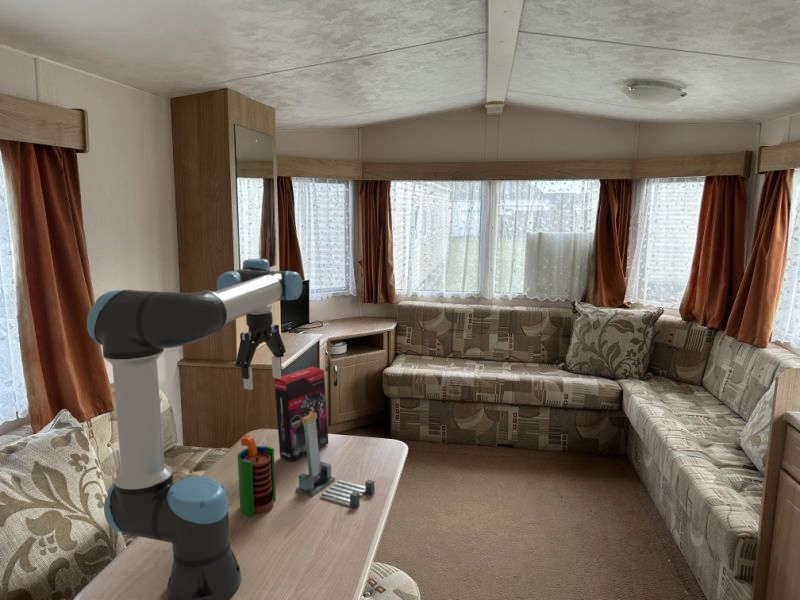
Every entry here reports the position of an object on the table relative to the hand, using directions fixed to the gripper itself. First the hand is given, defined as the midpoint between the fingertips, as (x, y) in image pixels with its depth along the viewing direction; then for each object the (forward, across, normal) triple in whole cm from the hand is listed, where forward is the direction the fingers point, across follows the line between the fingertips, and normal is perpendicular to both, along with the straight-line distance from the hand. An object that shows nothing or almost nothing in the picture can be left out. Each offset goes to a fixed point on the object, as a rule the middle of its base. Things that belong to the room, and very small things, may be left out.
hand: (263, 383), depth 169 cm
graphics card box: (+29, +18, 0) cm, 34 cm away
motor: (+29, -16, -11) cm, 35 cm away
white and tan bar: (+28, +1, -18) cm, 33 cm away
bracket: (+29, +1, -25) cm, 38 cm away
